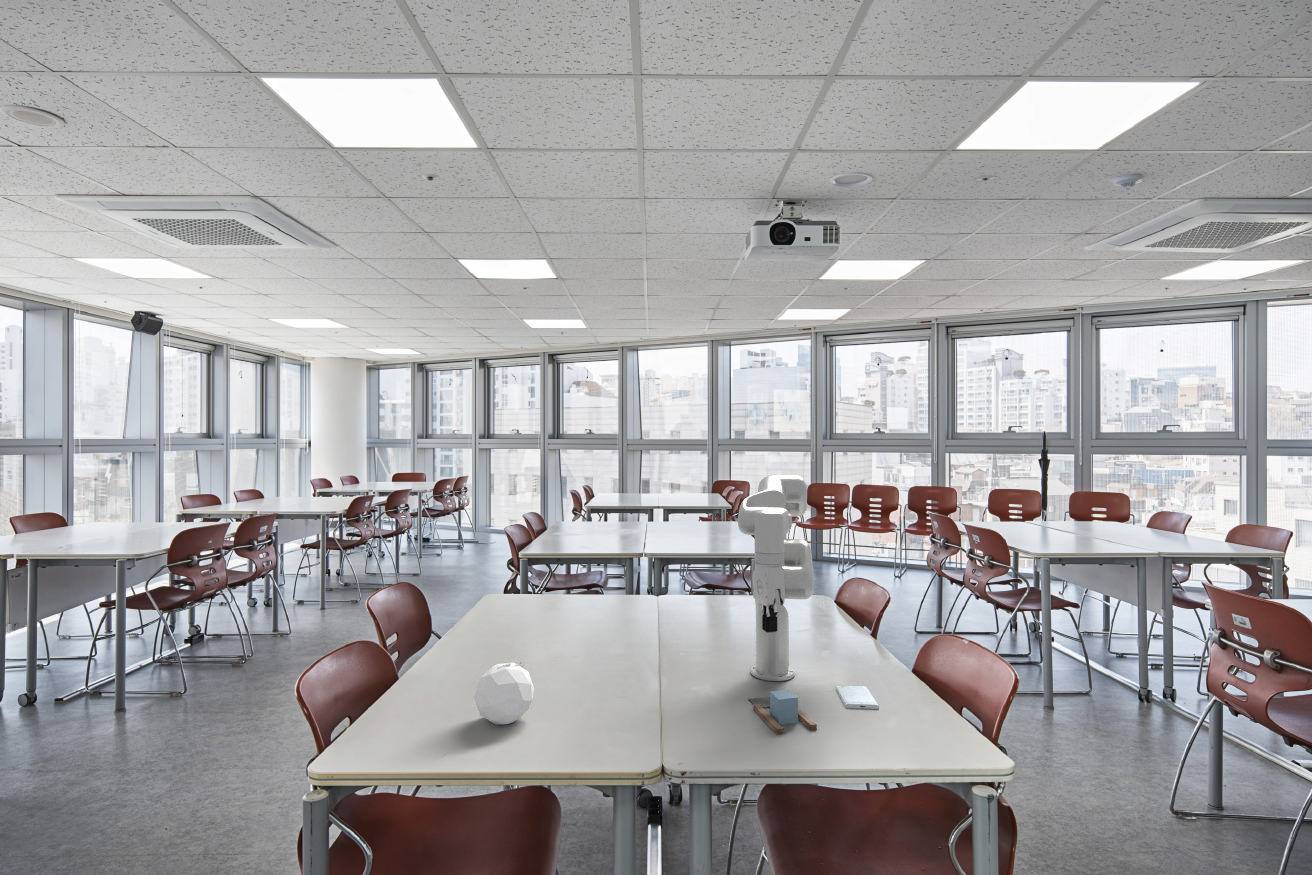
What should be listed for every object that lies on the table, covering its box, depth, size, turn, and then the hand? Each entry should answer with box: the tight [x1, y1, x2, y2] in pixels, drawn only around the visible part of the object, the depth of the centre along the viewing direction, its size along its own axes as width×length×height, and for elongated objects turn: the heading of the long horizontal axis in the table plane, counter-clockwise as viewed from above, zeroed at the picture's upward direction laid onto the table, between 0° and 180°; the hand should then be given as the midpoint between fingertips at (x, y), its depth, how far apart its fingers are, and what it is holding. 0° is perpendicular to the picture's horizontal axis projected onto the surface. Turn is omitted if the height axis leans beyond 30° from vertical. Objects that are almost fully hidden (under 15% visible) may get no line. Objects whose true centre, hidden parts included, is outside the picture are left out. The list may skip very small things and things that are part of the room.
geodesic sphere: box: [473, 661, 535, 725], centre depth 149 cm, size 15×14×14 cm
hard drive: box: [835, 685, 880, 710], centre depth 161 cm, size 2×8×12 cm
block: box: [769, 689, 799, 726], centre depth 149 cm, size 5×5×6 cm
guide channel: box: [747, 696, 818, 735], centre depth 152 cm, size 20×10×1 cm, turn 13°
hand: (769, 630), depth 157 cm, fingers closed
